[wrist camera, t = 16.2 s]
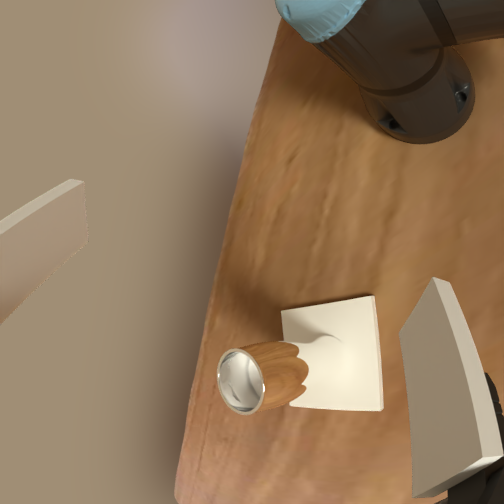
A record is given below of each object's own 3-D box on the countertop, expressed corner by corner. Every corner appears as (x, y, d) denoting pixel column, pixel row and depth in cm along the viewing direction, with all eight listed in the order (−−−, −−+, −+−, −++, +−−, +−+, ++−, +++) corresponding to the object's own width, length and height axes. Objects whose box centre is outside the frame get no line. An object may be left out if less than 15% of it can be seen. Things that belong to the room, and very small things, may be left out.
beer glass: (341, 323, 37) (252, 337, 27) (357, 376, 34) (274, 413, 24) (299, 341, 41) (208, 355, 31) (313, 389, 38) (225, 419, 28)
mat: (285, 310, 45) (280, 310, 44) (374, 295, 35) (370, 295, 35) (294, 404, 42) (289, 405, 41) (383, 408, 32) (380, 410, 31)
